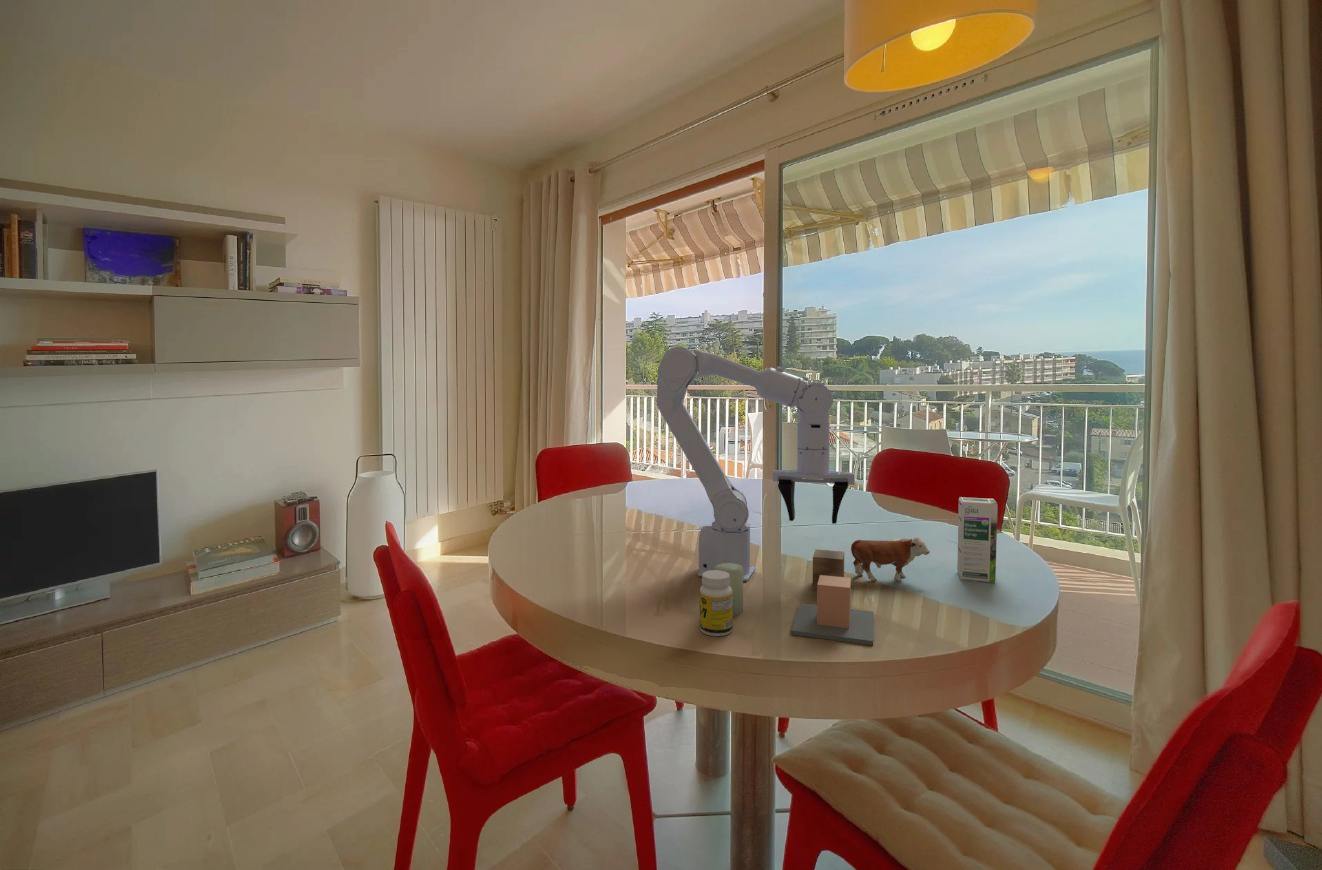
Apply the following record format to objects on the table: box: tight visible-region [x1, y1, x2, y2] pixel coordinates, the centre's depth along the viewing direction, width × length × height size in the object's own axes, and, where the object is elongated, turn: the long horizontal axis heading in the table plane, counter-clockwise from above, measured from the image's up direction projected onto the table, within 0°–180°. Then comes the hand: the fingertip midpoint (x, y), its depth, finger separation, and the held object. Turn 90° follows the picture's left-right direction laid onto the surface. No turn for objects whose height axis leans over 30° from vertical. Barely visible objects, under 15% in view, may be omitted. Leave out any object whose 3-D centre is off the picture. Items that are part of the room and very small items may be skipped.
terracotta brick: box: [816, 575, 852, 628], centre depth 86 cm, size 4×4×6 cm
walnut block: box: [811, 549, 845, 592], centre depth 102 cm, size 5×5×6 cm
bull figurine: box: [850, 536, 931, 582], centre depth 106 cm, size 4×13×8 cm, turn 78°
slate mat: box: [790, 603, 874, 646], centre depth 86 cm, size 11×11×1 cm
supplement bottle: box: [699, 570, 734, 637], centre depth 85 cm, size 5×5×8 cm
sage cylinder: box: [715, 563, 744, 617], centre depth 92 cm, size 4×4×7 cm
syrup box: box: [956, 496, 999, 584], centre depth 107 cm, size 6×6×14 cm
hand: (812, 521), depth 108 cm, fingers open, 7 cm apart
